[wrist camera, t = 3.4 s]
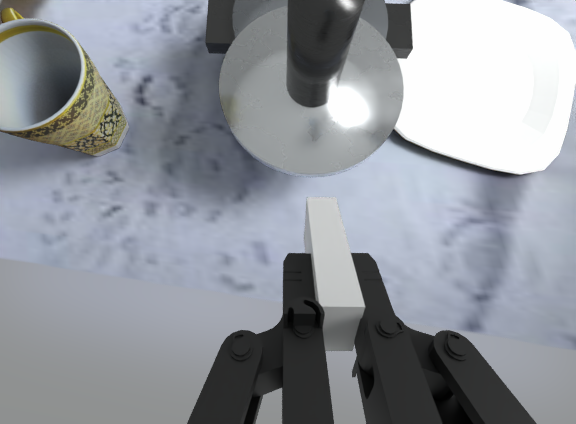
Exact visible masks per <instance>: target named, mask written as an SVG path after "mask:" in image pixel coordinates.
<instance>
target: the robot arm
mask: <svg viewBox="0 0 576 424" xmlns="http://www.w3.org/2000/svg"><path fill="white" fill-rule="evenodd" d="M304 245H305V253H288V255H287V256H286V258H285V260H284V262H283V316H282V318H281V320H280V322H279V323H278V324H277V325H276V326H275V327H274V328H272V329H270V330H268V331H265V332H262V333H259V334H255V333H253V332H251V331H246V330H240V331H237V332H234V333H232V334H231V335H230V336H228V337H227V338H226V339H225V341H224V342H223V344H222V345H221V348H220V350H219V352H218V355H217V357H216V359H215V362H214V364H213V366H212V368H211V371H210V373H209V375H208V377H207V380H206V382H205V384H204V386H203V389H202V391H201V393H200V395H199V398H198V400H197V402H196V405H195V407H194V409H193V412H192V414H191V416H190V418H189V420H188V423H187V424H255V422H256V419H257V415H258V412H259V408H260V405H261V401H262V397H263V395H264V394H267V393H269V392H272V391H274V390H276V389H279V388H282V424H334V420H333V411H332V404H331V395H330V386H329V378H328V370H327V362H326V353H325V351H352V350H353V347H354V344H355V348H356V353H357V357H356V361H355V364H354V367H353V371H352V377H355V376H356V373H357V378H358V383H359V388H360V393H361V398H362V403H363V409H364V414H365V418H366V424H536V422H535V421H534V420H533V419H532V418H531V416H530V415H529V414H528V412H527V411H526V410H525V409H524V407H523V406H522V405H521V404H520V403H519V401H518V400H517V399H516V398H515V396H514V395H513V394H512V393H511V391H510V390H509V389H508V388H507V386H506V385H505V384H504V383H503V382H502V380H501V379H500V378H499V376H498V375H497V374H496V373H495V371H494V370H493V369H492V368H491V366H490V365H489V364H488V363H487V361H486V360H485V359H484V358H483V357H482V355H481V354H480V353H479V352H478V350H477V349H476V348H475V347H474V345H473V344H472V343H471V342H470V341H469V340H468V339H467V338H465V337H464V336H462V335H460V334H459V333H456V332H453V331H450V330H446V331H440V332H438V333H437V334H436V335H435V336H432V335H429V334H425V333H422V332H419V331H415V330H413V329H410V328H409V327H407V326H406V325H404V323H403V322H402V321H401V320H400V319H399V318H398V317H397V316H396V315H395V313H394V311H393V309H392V306H391V303H390V300H389V297H388V295H387V292H386V289H385V286H384V283H383V282H382V278H381V275H380V274H379V269H378V267H377V264H376V262H375V260H374V259H373V258H372V257H371V256H370V255H369V254H368V253H351V252H350V248H349V244H348V241H347V237H346V233H345V229H344V226H343V222H342V218H341V215H340V211H339V207H338V203H337V200H336V197H307V201H306V215H305V229H304Z"/></svg>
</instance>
